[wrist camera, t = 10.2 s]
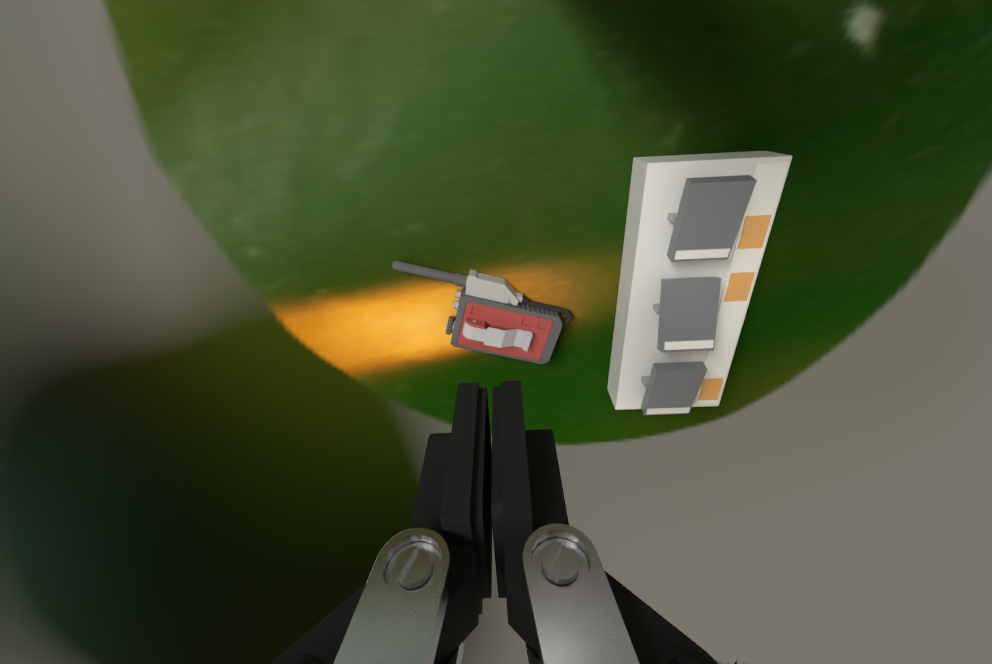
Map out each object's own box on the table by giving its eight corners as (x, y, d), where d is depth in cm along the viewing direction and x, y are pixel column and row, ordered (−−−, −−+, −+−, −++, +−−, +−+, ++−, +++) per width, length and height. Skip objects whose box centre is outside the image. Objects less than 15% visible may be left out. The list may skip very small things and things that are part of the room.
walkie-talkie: (576, 291, 44) (396, 250, 42) (584, 309, 41) (386, 265, 38) (552, 356, 49) (387, 321, 46) (557, 377, 45) (377, 341, 43)
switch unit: (633, 157, 37) (653, 165, 33) (764, 150, 37) (803, 157, 32) (607, 388, 51) (618, 417, 46) (703, 384, 50) (724, 413, 46)
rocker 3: (653, 363, 41) (657, 372, 40) (702, 361, 41) (708, 370, 40) (640, 406, 46) (644, 416, 45) (685, 405, 46) (689, 414, 45)
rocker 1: (686, 178, 32) (692, 184, 31) (749, 174, 32) (758, 180, 31) (666, 255, 37) (671, 262, 36) (721, 252, 37) (728, 260, 36)
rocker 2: (661, 278, 38) (667, 280, 37) (714, 276, 38) (722, 278, 37) (657, 348, 40) (662, 353, 39) (707, 346, 40) (714, 351, 39)
